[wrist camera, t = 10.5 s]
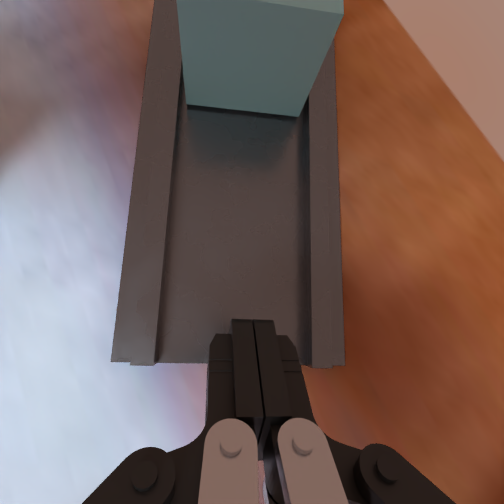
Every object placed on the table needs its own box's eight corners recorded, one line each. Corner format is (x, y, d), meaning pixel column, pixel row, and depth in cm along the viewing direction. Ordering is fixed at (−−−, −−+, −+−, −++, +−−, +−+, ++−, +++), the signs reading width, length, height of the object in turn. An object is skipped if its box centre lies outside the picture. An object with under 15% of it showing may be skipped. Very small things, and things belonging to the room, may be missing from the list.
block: (186, 104, 23) (175, -12, 15) (192, 32, 24) (185, -108, 16) (298, 116, 24) (343, 14, 16) (298, 47, 25) (339, -78, 17)
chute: (113, 360, 19) (102, 365, 17) (158, -15, 25) (154, -45, 23) (341, 364, 21) (355, 368, 19) (330, 12, 27) (340, -14, 25)
